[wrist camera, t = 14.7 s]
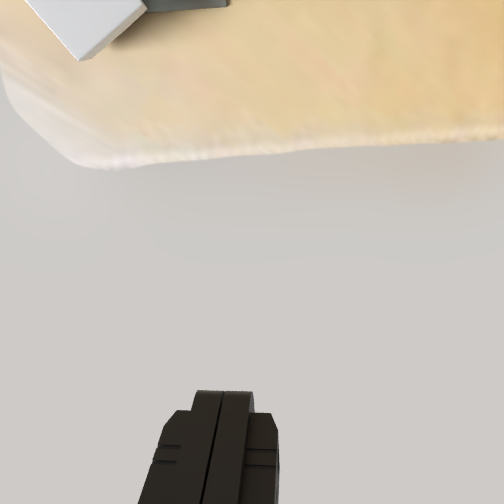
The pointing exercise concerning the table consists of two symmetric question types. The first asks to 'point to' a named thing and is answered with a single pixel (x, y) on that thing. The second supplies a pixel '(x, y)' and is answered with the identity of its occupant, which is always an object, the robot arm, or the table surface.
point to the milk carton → (87, 22)
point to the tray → (181, 5)
